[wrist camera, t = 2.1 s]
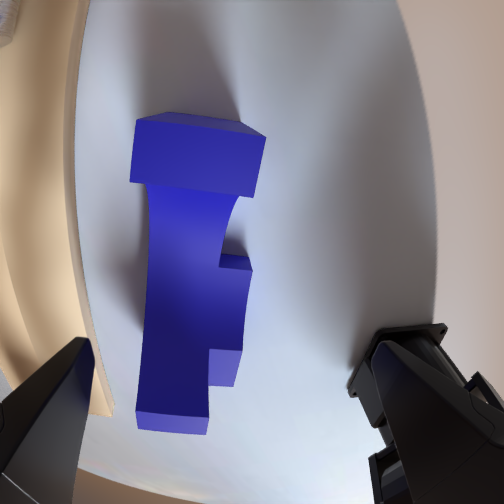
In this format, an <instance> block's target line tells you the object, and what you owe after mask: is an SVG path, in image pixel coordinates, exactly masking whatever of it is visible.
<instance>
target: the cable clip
mask: <svg viewBox="0 0 504 504" xmlns="http://www.w3.org/2000/svg"><path fill="white" fill-rule="evenodd" d="M265 141H266V137H265V136H263V135H262V134H260V133H259V132H257V131H255V130H254V129H252V128H250V127H249V126H247V125H245V124H244V123H242V122H238V121H232V120H226V119H219V118H213V117H206V116H198V115H191V114H183V113H174V112H165V113H161V114H157V115H153V116H148V117H144V118H141V119H137V120H136V126H135V134H134V142H133V151H132V160H131V171H130V182H133V183H142V184H145V185H146V188H147V193H148V201H149V257H148V276H147V291H146V306H145V319H144V331H143V343H142V354H141V365H140V375H139V384H138V393H137V402H136V410H135V412H136V419H137V426H138V429H144V430H152V431H161V432H171V433H183V434H198V435H206V432H207V427H208V421H209V399H208V385H209V386H227V387H233V386H234V382H235V378H236V374H237V370H238V367H239V363H240V359H241V355H242V351H243V334H244V322H245V313H246V305H247V298H248V292H249V287H250V281H251V276H252V272H253V270H252V267H251V263H250V259H249V257H245V256H236V255H227V254H221V250H222V245H223V241H224V236H225V232H226V228H227V225H228V221H229V218H230V215H231V212H232V209H233V207H234V205H235V202H236V200H237V199H238V197H239V196H244V197H250V198H253V197H254V193H255V188H256V183H257V178H258V174H259V169H260V164H261V160H262V155H263V150H264V145H265Z"/></svg>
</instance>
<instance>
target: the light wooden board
mask: <svg viewBox="0 0 504 504" xmlns="http://www.w3.org/2000/svg"><path fill="white" fill-rule="evenodd" d="M89 3H90V0H21V1H20V5H19V9H18V13H17V18H16V23H15V28H14V33H13V39H12V42H11V43H10V44H8V45H6V46H4V47H2V48H0V367H1V369H2V371H3V373H4V375H5V377H6V379H7V380H8V382H9V384H10V386H11V388H12V389H13V391H14V390H15V389H16V388H17V387H18V386H19V385H20V384H21V383H23V382H24V381H25V380H26V379H27V378H28V377H29V376H30V375H32V374H33V373H34V372H35V371H36V370H37V369H38V368H40V367H41V366H42V365H43V364H44V363H45V362H47V361H48V360H49V359H50V358H51V357H52V356H53V355H55V354H56V353H57V352H58V351H59V350H61V349H62V348H63V347H64V346H65V345H66V344H68V343H69V342H70V341H71V340H72V339H74V338H75V337H77V336H79V337H87V338H89V339H90V341H91V345H92V349H93V352H94V356H95V369H94V375H93V383H92V390H91V398H90V406H89V411H88V414H93V415H100V416H107V417H112V416H113V411H114V405H115V403H114V400H113V397H112V394H111V391H110V388H109V384H108V381H107V377H106V374H105V370H104V367H103V363H102V359H101V355H100V352H99V348H98V343H97V339H96V335H95V331H94V326H93V321H92V317H91V312H90V307H89V302H88V296H87V290H86V285H85V278H84V272H83V265H82V258H81V250H80V242H79V232H78V222H77V210H76V194H75V168H74V133H75V108H76V93H77V81H78V71H79V63H80V55H81V48H82V41H83V35H84V29H85V23H86V18H87V13H88V8H89Z"/></svg>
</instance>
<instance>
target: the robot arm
mask: <svg viewBox="0 0 504 504" xmlns="http://www.w3.org/2000/svg"><path fill="white" fill-rule="evenodd" d="M447 329H448V328H447V326H446V325H445V324H444V323H439V324H430V325H420V326H410V327H399V328H386V329H381V330H379V331H378V332H377V333H376V334H375V336H374V338H373V340H372V342H371V345H370V347H369V349H368V351H367V353H366V355H365V357H364V360H363V362H362V364H361V366H360V368H359V370H358V372H357V374H356V376H355V378H354V380H353V382H352V384H351V386H350V388H349V390H348V394H349V396H350V397H351V398H354V397H358V398H359V400H360V402H361V404H362V406H363V409H364V411H365V413H366V415H367V417H368V420H369V422H370V424H371V426H372V427H373V428H378V429H379V431H380V433H381V436H382V438H383V440H384V442H385V444H386V448H384V449H383V450H381V451H380V452H378V453H375V454H373V455H371V456H370V457H369V458H368V460H369V467H370V474H371V481H372V488H373V495H374V503H375V504H504V401H503V400H502V399H501V397H500V396H499V394H498V393H497V392H496V390H495V389H494V388H493V386H492V385H491V384H490V383H489V382H488V381H487V380H486V379H485V378H484V377H483V376H482V375H481V374H480V373H479V372H478V371H477V372H476V373H475V374H474V375H473V376H472V377H471V378H472V379H471V380H470V381H469V382H467V381H466V379H465V378H464V377H463V375H462V374H461V372H460V371H459V370H458V368H457V367H456V366H455V364H454V363H453V361H452V360H451V359H450V357H449V356H448V355H447V353H446V352H445V351H444V350H443V349H442V347H441V346H440V343H441V341H442V340H443V338H444V336H445V334H446V332H447ZM94 369H95V356H94V352H93V349H92V345H91V341H90V339H89V338H87V337H79V336H77V337H75V338H74V339H72V340H71V341H70V342H69V343H68V344H66V345H65V346H64V347H63V348H62V349H61V350H59V351H58V352H57V353H56V354H55V355H53V356H52V357H51V358H50V359H49V360H48V361H47V362H45V363H44V364H43V365H42V366H41V367H40V368H38V369H37V370H36V371H35V372H34V373H33V374H32V375H30V376H29V377H28V378H27V379H26V380H25V381H24V382H23V383H21V384H20V385H19V386H18V387H17V388H16V389H15V390H14V391H13V392H11V393H10V394H9V395H8V396H7V397H6V398H5V399H4V400H3V401H2V403H0V504H72V497H73V490H74V483H75V477H76V471H77V465H78V460H79V454H80V449H81V444H82V439H83V434H84V430H85V425H86V421H87V416H88V411H89V406H90V398H91V390H92V383H93V375H94ZM486 402H488V404H487V403H486Z"/></svg>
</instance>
